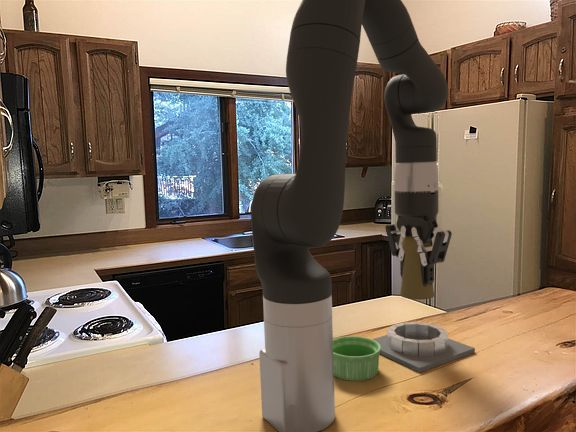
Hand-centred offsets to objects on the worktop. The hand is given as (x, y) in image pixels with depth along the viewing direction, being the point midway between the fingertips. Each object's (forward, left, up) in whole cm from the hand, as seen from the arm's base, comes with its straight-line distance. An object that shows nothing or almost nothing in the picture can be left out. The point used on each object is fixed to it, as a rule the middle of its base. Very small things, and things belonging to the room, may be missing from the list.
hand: (416, 282), depth 84 cm
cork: (0, 0, -2) cm, 2 cm away
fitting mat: (0, 0, -13) cm, 13 cm away
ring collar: (0, 0, -13) cm, 13 cm away
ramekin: (-15, 0, -13) cm, 20 cm away
